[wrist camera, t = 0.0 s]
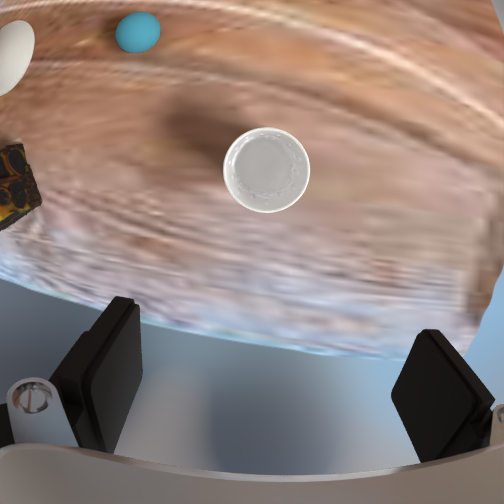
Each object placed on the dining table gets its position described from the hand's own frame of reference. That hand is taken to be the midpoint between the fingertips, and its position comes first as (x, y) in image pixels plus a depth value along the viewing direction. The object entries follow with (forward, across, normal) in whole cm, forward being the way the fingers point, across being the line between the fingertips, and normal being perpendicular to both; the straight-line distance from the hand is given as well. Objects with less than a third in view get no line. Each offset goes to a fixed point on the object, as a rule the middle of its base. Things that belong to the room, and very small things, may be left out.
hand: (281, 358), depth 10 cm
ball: (+28, +17, -19) cm, 38 cm away
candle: (+32, +37, +2) cm, 49 cm away
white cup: (+32, 0, -4) cm, 32 cm away
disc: (+31, +42, -19) cm, 56 cm away
